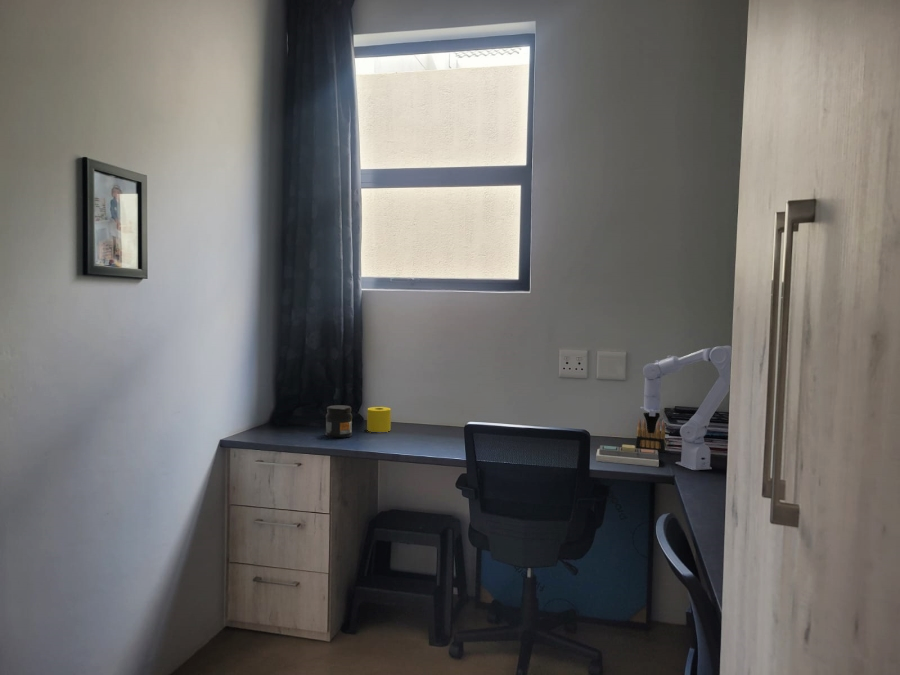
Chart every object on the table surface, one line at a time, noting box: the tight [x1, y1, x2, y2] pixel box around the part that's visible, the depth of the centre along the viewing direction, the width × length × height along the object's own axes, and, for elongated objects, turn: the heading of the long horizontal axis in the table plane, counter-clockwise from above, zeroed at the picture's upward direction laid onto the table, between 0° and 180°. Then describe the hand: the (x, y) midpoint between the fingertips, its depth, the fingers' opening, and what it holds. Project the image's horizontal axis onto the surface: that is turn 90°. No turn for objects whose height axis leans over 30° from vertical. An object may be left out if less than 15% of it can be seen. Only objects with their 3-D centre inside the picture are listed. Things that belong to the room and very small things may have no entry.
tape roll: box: [366, 406, 392, 433], centre depth 262 cm, size 10×10×9 cm
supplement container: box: [325, 404, 353, 439], centre depth 249 cm, size 10×10×12 cm
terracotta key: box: [641, 449, 654, 454], centre depth 218 cm, size 4×4×2 cm
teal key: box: [603, 445, 617, 450], centre depth 222 cm, size 4×4×2 cm
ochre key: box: [621, 444, 636, 452], centre depth 220 cm, size 4×4×2 cm
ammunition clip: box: [635, 418, 666, 453], centre depth 237 cm, size 11×2×12 cm, turn 64°
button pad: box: [595, 445, 660, 468], centre depth 220 cm, size 21×11×4 cm, turn 74°
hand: (650, 432), depth 224 cm, fingers closed
